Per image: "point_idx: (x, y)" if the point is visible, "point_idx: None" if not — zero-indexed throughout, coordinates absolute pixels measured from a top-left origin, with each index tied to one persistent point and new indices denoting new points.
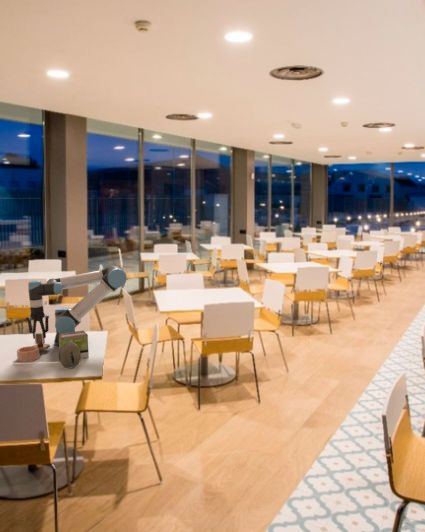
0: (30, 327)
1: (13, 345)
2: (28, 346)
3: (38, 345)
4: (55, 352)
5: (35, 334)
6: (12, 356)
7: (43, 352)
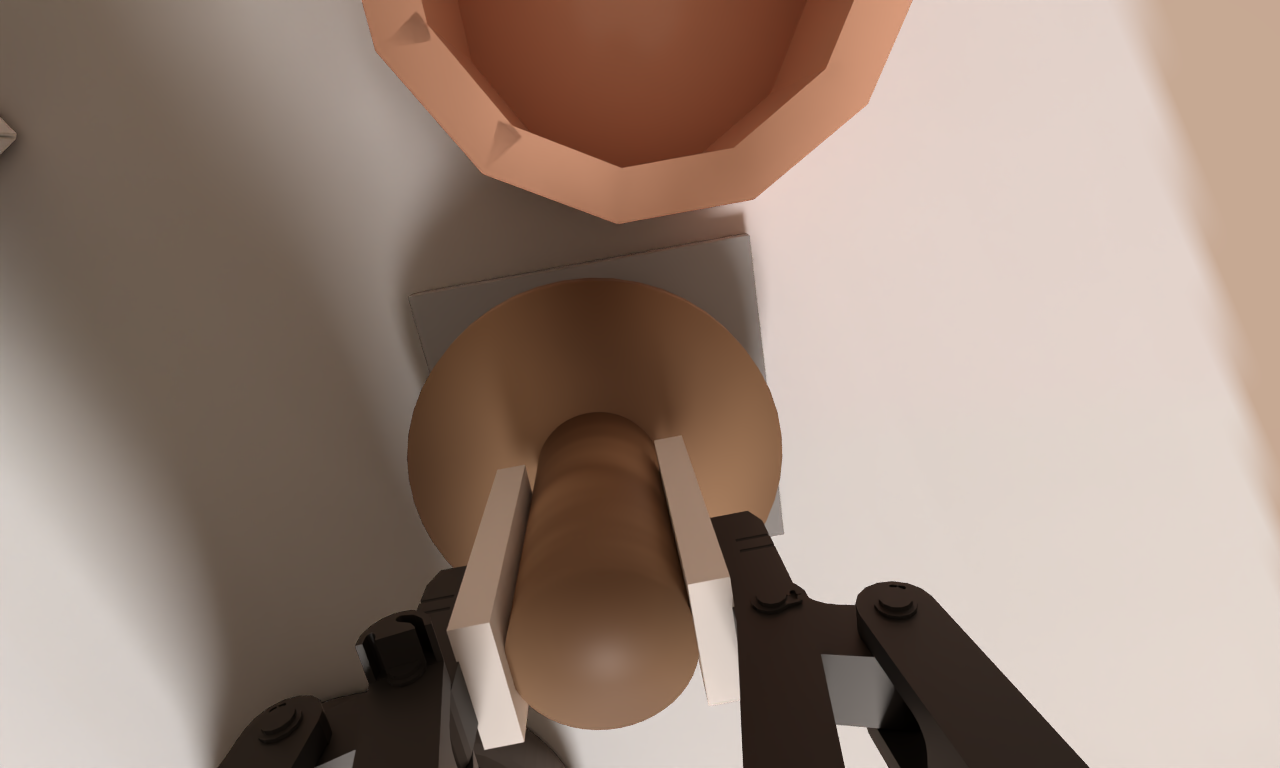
0: (978, 761)
1: (1179, 681)
2: (743, 190)
3: (607, 425)
4: (325, 431)
5: (693, 571)
6: (1019, 144)
7: None
